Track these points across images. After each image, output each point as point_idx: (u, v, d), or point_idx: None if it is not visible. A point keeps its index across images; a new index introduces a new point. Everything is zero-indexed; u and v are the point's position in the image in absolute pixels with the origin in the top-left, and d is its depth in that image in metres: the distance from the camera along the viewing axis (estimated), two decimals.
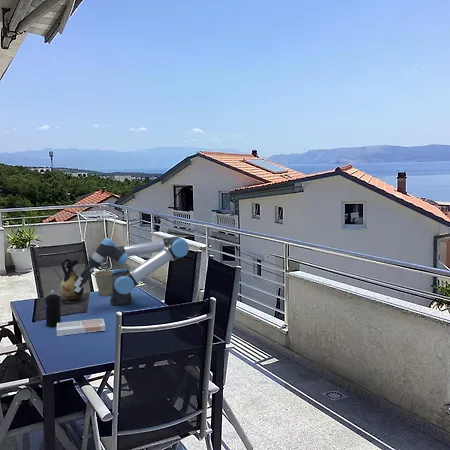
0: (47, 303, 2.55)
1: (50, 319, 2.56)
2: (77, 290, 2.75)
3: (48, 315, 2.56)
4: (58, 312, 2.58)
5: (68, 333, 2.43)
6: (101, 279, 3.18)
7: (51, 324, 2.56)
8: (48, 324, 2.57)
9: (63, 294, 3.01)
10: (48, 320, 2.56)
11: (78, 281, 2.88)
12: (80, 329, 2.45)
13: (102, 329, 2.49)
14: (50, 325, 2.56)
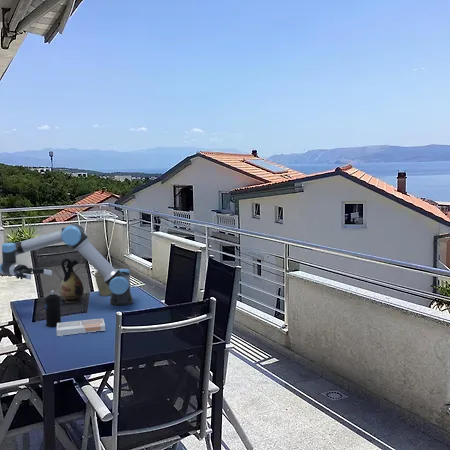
0: (47, 303, 2.55)
1: (50, 319, 2.56)
2: (29, 276, 2.57)
3: (48, 315, 2.56)
4: (58, 312, 2.58)
5: (68, 333, 2.43)
6: (101, 279, 3.18)
7: (51, 324, 2.56)
8: (48, 324, 2.57)
9: (63, 294, 3.01)
10: (48, 320, 2.56)
11: (47, 273, 2.70)
12: (80, 329, 2.45)
13: (102, 329, 2.49)
14: (50, 325, 2.56)
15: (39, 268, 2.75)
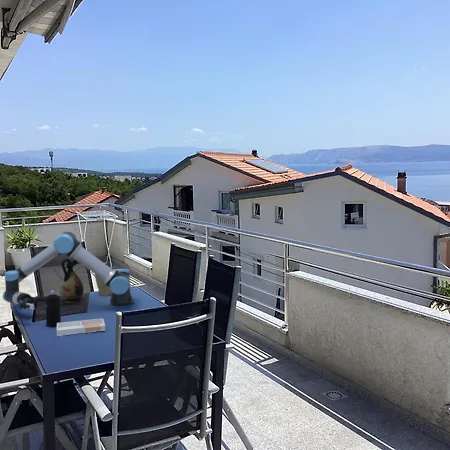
0: (47, 303, 2.55)
1: (50, 319, 2.56)
2: (32, 307, 2.57)
3: (48, 315, 2.56)
4: (58, 312, 2.58)
5: (68, 333, 2.43)
6: (101, 279, 3.18)
7: (51, 324, 2.56)
8: (48, 324, 2.57)
9: (63, 294, 3.01)
10: (48, 320, 2.56)
11: None
12: (80, 329, 2.45)
13: (102, 329, 2.49)
14: (50, 325, 2.56)
15: (42, 296, 2.75)
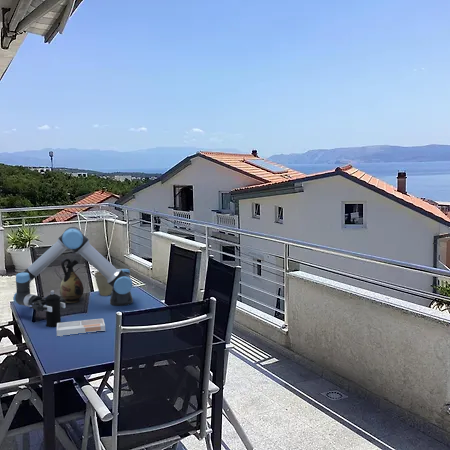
0: (47, 303, 2.55)
1: (50, 319, 2.56)
2: (49, 309, 2.53)
3: (48, 315, 2.56)
4: (58, 312, 2.58)
5: (68, 333, 2.43)
6: (101, 279, 3.18)
7: (51, 324, 2.56)
8: (48, 324, 2.57)
9: (63, 294, 3.01)
10: (48, 320, 2.56)
11: (60, 305, 2.62)
12: (80, 329, 2.45)
13: (102, 329, 2.49)
14: (50, 325, 2.56)
15: None
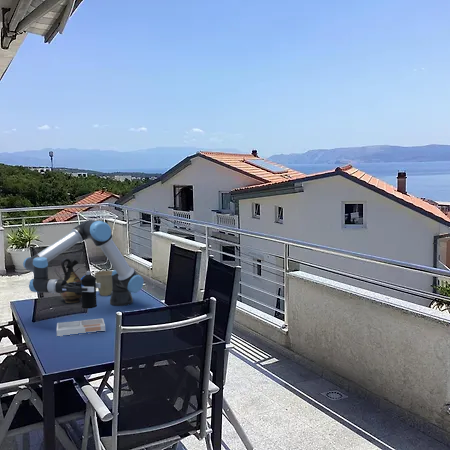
0: (86, 284, 2.47)
1: (89, 300, 2.48)
2: (91, 289, 2.46)
3: (87, 296, 2.48)
4: (95, 292, 2.52)
5: (68, 333, 2.43)
6: (101, 279, 3.18)
7: (91, 305, 2.49)
8: (87, 306, 2.48)
9: (63, 294, 3.01)
10: (87, 301, 2.48)
11: None
12: (80, 329, 2.45)
13: (102, 329, 2.49)
14: (89, 306, 2.48)
15: (80, 282, 2.58)
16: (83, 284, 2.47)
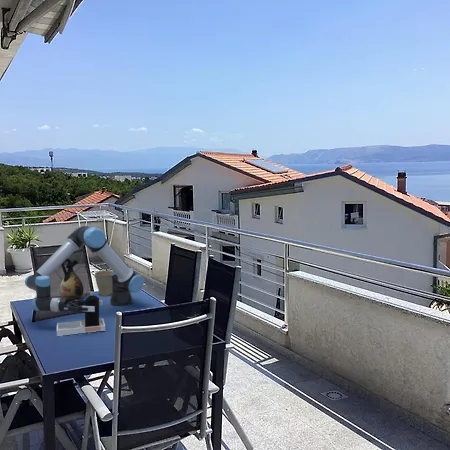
0: (89, 305, 2.48)
1: (92, 320, 2.49)
2: (92, 308, 2.45)
3: (90, 317, 2.49)
4: None
5: (68, 333, 2.43)
6: (101, 279, 3.18)
7: None
8: (90, 326, 2.49)
9: (63, 294, 3.01)
10: (90, 322, 2.49)
11: None
12: (80, 329, 2.45)
13: (102, 329, 2.49)
14: None
15: (82, 299, 2.59)
16: (86, 305, 2.49)
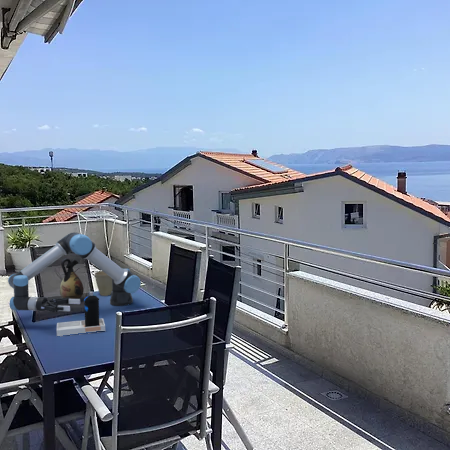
0: (89, 305, 2.48)
1: (92, 320, 2.49)
2: (67, 308, 2.46)
3: (90, 317, 2.49)
4: (98, 313, 2.53)
5: (68, 333, 2.43)
6: (101, 279, 3.18)
7: None
8: (90, 326, 2.49)
9: (63, 294, 3.01)
10: (90, 322, 2.49)
11: (73, 302, 2.60)
12: (80, 329, 2.45)
13: (102, 329, 2.49)
14: None
15: (60, 298, 2.61)
16: (86, 305, 2.49)
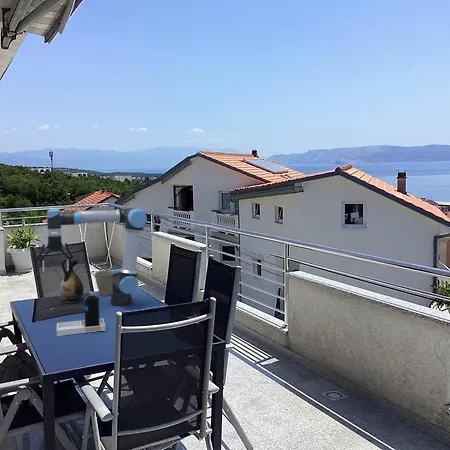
0: (89, 305, 2.48)
1: (92, 320, 2.49)
2: (68, 268, 2.72)
3: (90, 317, 2.49)
4: (98, 313, 2.53)
5: (68, 333, 2.43)
6: (101, 279, 3.18)
7: None
8: (90, 326, 2.49)
9: (63, 294, 3.01)
10: (90, 322, 2.49)
11: None
12: (80, 329, 2.45)
13: (102, 329, 2.49)
14: None
15: None
16: (86, 305, 2.49)
